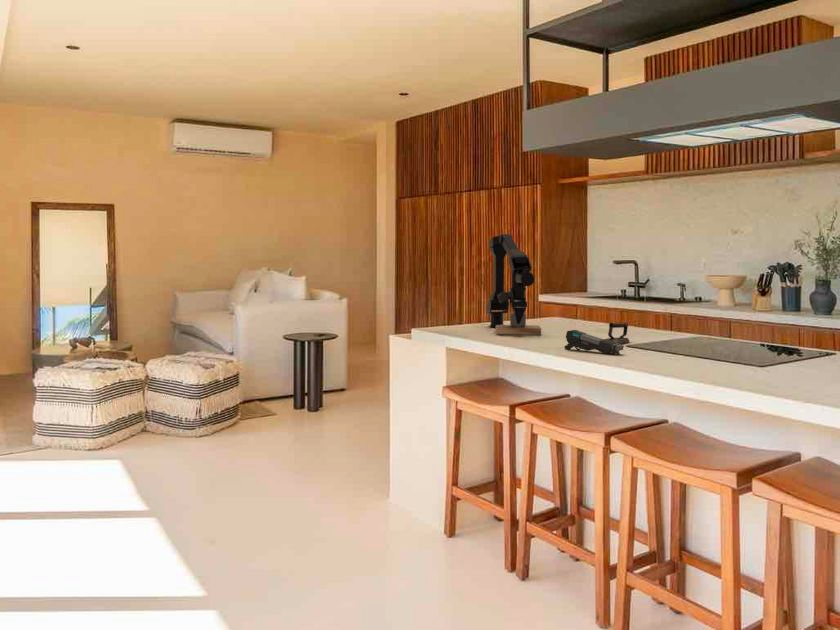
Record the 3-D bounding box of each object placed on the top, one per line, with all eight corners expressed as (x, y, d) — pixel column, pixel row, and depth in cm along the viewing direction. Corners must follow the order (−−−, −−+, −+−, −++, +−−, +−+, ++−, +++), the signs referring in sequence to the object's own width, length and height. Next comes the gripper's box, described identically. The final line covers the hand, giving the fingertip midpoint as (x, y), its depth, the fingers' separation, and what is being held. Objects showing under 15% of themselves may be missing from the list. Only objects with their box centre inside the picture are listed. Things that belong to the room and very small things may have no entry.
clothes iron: (600, 344, 272) (603, 318, 273) (620, 349, 278) (623, 323, 279) (615, 345, 266) (618, 318, 267) (635, 350, 272) (638, 323, 274)
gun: (566, 347, 260) (575, 321, 256) (615, 372, 248) (625, 345, 245) (560, 348, 256) (569, 322, 253) (609, 373, 245) (619, 347, 242)
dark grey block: (510, 329, 303) (510, 312, 302) (524, 329, 303) (524, 312, 302) (510, 330, 297) (510, 313, 297) (525, 330, 297) (525, 313, 296)
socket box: (495, 332, 306) (495, 323, 306) (538, 332, 305) (538, 323, 304) (496, 335, 295) (496, 326, 295) (541, 335, 294) (541, 327, 294)
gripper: (497, 283, 308) (497, 320, 310) (499, 286, 289) (498, 325, 291) (524, 283, 307) (524, 320, 309) (527, 286, 289) (526, 325, 290)
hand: (517, 322), depth 300 cm, fingers closed on dark grey block, 6 cm apart
